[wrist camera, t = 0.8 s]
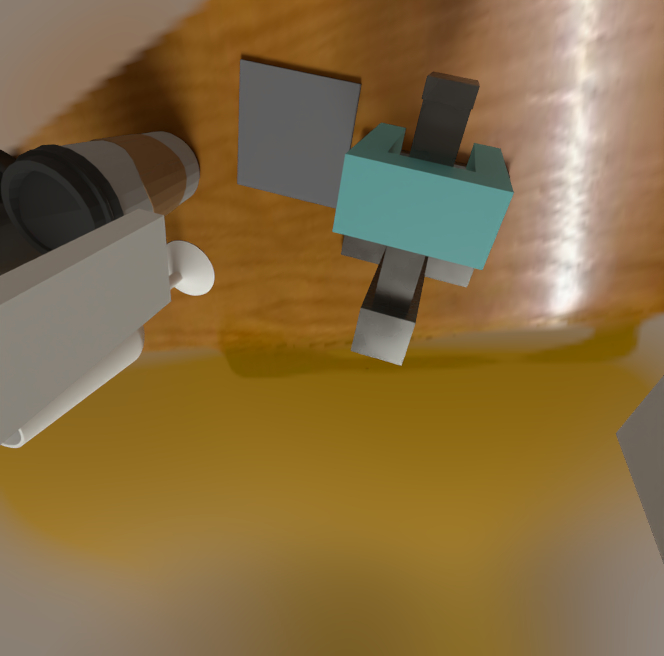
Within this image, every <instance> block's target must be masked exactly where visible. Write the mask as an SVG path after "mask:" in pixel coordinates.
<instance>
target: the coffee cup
mask: <svg viewBox="0 0 664 656" xmlns="http://www.w3.org/2000/svg"><path fill="white" fill-rule="evenodd" d="M199 178H200V172H199V165H198V161H197V159H196V157H195V155H194V153H193V151H192V150H191V149H190V147H189V146H188V145H187V144H186V143H185V142H184V141H183V140H181V139H180V138H178V137H176V136H175V135H173V134H171V133H167V132H163V131H159V132H150V133H143V134H130V135H123V136H116V137H109V138H102V139H95V140H91V141H89V142H83V143H76V144H70V145H63V146H58V145H42V146H40V147H38V148H36V149H33V150H29V151H27V152H25V153H23V154H21V155H19V156H18V158H17V159H16V160H15V162H14V163H13V164H11V165H9V166H8V168H7V169H6V170H5V172H4V173H3V176H2V180H1V196H2V200H3V203H4V206H5V210H6V212H7V214H8V216H9V218H10V220H11V222H12V223H13V225H14V226H15V228H16V229H17V230H18V232H19V233H20V235H21V236H22V237H23V238H24V239H25V240H26V241H27V242H28V243H29V244H30V245H31V246H32V247H33V248H34V249H36V250H37V251H38V252H40V253H41V254H42V255H44V254H46V253H48V252H50V251H52V250H54V249H56V248H58V247H60V246H62V245H65V244H67V243H69V242H71V241H73V240H75V239H77V238H79V237H81V236H83V235H85V234H87V233H89V232H91V231H93V230H95V229H98V228H100V227H102V226H104V225H106V224H108V223H110V222H112V221H114V220H116V219H118V218H120V217H122V216H124V215H126V214H128V213H131V212H133V211H135V210H137V209H142V210H146V211H150V212H153V213H157V214H161V215H164V216H166V215H167V214H169V213H170V212H171V211H173V210H174V209H175V208H176V207H177V206H178V205H180V204H181V203H182V202H184V201H185V200H187V199H188V198H189V197H191V196H192V195H193V194H194V192H195V191H196V189H197V186H198V182H199Z"/></svg>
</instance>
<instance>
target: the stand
mask: <svg viewBox="0 0 664 656" xmlns="http://www.w3.org/2000/svg"><path fill="white" fill-rule="evenodd" d="M479 87H480V86H479V82H478V80H473V79H468V78H463V77H458V76H452V75H447V74H442V73H437V72H432V73H430V74H429V75H428V76H427V79H426V83H425V87H424V91H423V95H422V99H423V103H422V107H421V111H420V115H419V119H418V123H417V127H416V131H415V135H414V139H413V143H412V147H411V151H405V150H401V152H400V155H402V156H407V157H411V158H416V159H420V160H424V161H429V162H433V163H438V164H442V165H446V166H451V167H455V168H460V169H464V170H466V167H467V164H463V163H458V162H455V160H456V156H457V153H458V150H459V147H460V143H461V140H462V137H463V134H464V131H465V127H466V124H467V121H468V118H469V115H470V111H471V109H473V106H474V103H475V99H476V96H477V93H478V90H479ZM508 175H509V174H508ZM509 178H510V175H509ZM341 254H342V255H345V256H349V257H353V258H357V259H361V260H364V261H368V262H372V263H376V264H379V265H378V268H377V270H376V273H375V275H374V277H373V280H372V282H371V285H370V287H369V289H368V292H367V294H366V297H365V299H364V301H363V304H362V306H361V309H360V314H359V318H358V322H357V327H356V331H355V335H354V339H353V344H352V348H351V351H353V352H357V353H360V354H364V355H367V356H370V357H374V358H377V359H381V360H384V361H387V362H391V363H394V364H398V365H402V362H403V359H404V356H405V353H406V350H407V347H408V344H409V341H410V338H411V335H412V332H413V329H414V326H415V323H416V317H417V312H418V307H419V302H420V297H421V292H422V287H423V282H424V277H429V278H433V279H437V280H440V281H444V282H448V283H452V284H456V285H459V286H463V287H467V286H468V283H469V281H470V278H471V275H472V273H473V270H474V268H472V267H468V266H465V265H461V264H457V263H453V262H449V261H445V260H441V259H437V258H433V257H429V256H426V255H422V254H418V253H414V252H410V251H406V250H402V249H398V248H394V247H390V246H387V245H383V244H379V243H375V242H371V241H367V240H363V239H359V238H355V237H351V236H348V235H344V241H343V246H342V252H341Z"/></svg>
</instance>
